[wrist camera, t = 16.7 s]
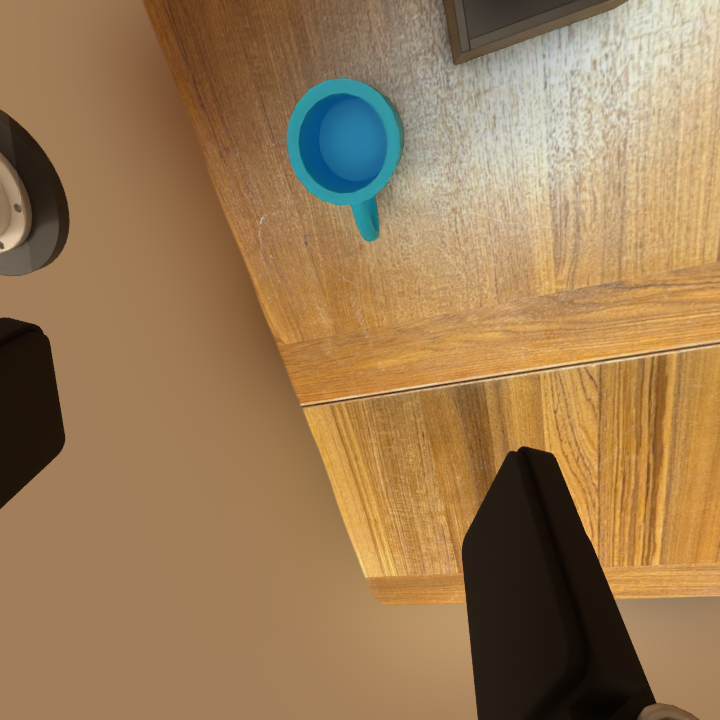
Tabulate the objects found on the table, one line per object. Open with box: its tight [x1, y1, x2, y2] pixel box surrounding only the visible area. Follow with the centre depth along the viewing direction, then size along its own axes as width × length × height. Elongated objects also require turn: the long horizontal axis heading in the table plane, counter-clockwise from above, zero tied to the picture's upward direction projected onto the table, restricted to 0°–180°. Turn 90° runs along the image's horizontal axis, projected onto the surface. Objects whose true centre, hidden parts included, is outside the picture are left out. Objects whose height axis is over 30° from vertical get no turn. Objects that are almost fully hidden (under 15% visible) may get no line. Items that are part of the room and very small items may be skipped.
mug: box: [287, 78, 404, 242], centre depth 36 cm, size 12×8×8 cm
